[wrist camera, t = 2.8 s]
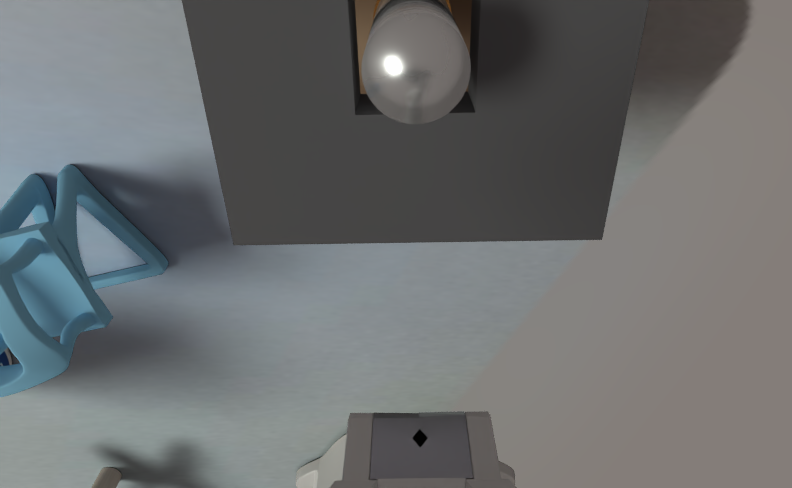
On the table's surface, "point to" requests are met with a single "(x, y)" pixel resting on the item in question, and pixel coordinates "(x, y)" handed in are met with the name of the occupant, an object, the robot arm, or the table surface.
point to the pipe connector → (107, 478)
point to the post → (415, 60)
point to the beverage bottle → (5, 358)
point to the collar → (416, 125)
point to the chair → (55, 276)
